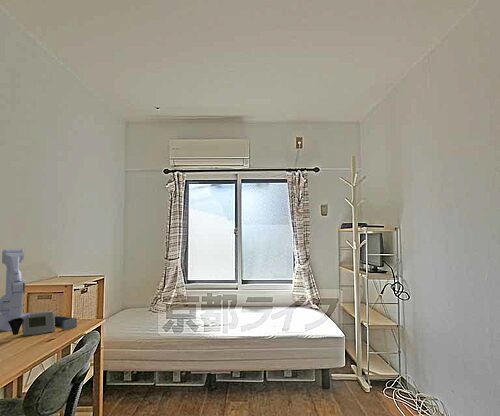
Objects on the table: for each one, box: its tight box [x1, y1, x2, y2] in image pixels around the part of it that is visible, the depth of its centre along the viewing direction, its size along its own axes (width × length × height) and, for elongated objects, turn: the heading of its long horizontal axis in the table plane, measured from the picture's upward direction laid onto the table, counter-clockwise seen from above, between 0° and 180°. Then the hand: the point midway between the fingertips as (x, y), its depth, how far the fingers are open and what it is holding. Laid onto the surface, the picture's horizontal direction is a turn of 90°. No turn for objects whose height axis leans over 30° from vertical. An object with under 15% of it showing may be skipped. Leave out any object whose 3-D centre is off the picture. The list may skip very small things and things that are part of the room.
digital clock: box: [21, 310, 56, 337], centre depth 223 cm, size 16×9×11 cm, turn 123°
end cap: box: [54, 315, 78, 331], centre depth 236 cm, size 14×9×5 cm, turn 68°
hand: (15, 334), depth 210 cm, fingers closed
